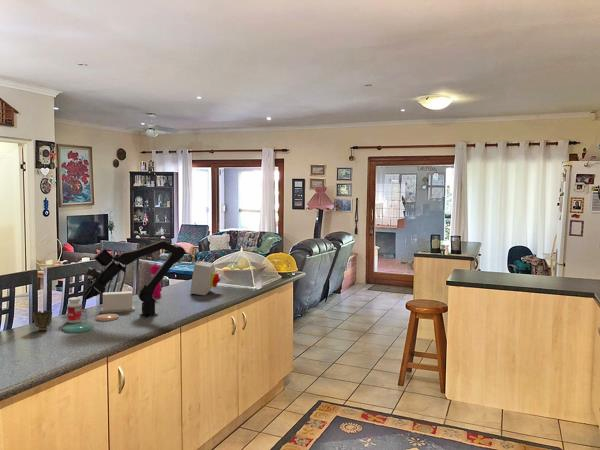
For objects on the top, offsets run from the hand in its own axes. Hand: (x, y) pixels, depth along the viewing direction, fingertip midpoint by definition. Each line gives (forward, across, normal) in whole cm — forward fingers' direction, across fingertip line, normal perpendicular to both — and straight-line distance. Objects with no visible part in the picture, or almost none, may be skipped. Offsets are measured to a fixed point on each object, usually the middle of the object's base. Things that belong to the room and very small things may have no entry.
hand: (84, 297), depth 228 cm
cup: (+20, +10, -4) cm, 23 cm away
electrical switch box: (-40, -42, +55) cm, 80 cm away
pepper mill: (-19, -42, +35) cm, 57 cm away
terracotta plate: (+1, -1, +15) cm, 15 cm away
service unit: (-3, -16, +19) cm, 25 cm away
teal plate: (+10, +13, +6) cm, 17 cm away
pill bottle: (+11, 0, +5) cm, 12 cm away
